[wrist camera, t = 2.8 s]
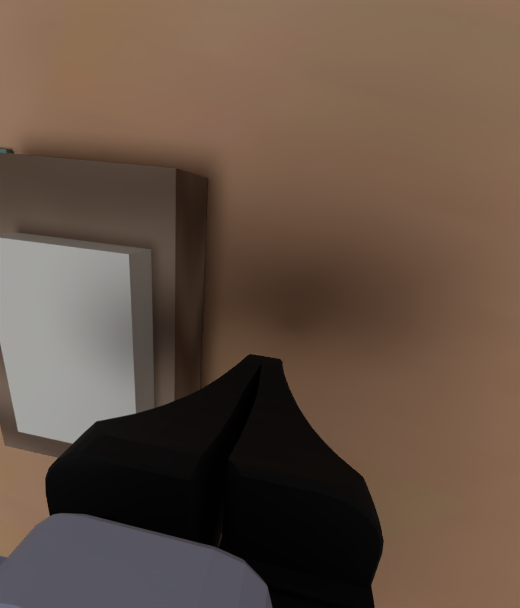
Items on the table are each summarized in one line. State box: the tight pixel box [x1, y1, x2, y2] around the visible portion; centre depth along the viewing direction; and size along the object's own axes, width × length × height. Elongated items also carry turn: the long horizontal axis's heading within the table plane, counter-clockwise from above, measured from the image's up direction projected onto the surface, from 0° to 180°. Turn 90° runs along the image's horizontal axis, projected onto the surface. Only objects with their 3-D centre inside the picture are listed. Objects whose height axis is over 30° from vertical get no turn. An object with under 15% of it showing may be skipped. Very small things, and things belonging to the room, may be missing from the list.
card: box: [0, 232, 154, 444], centre depth 12 cm, size 9×6×2 cm, turn 174°
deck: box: [0, 153, 208, 458], centre depth 15 cm, size 15×10×4 cm, turn 174°
